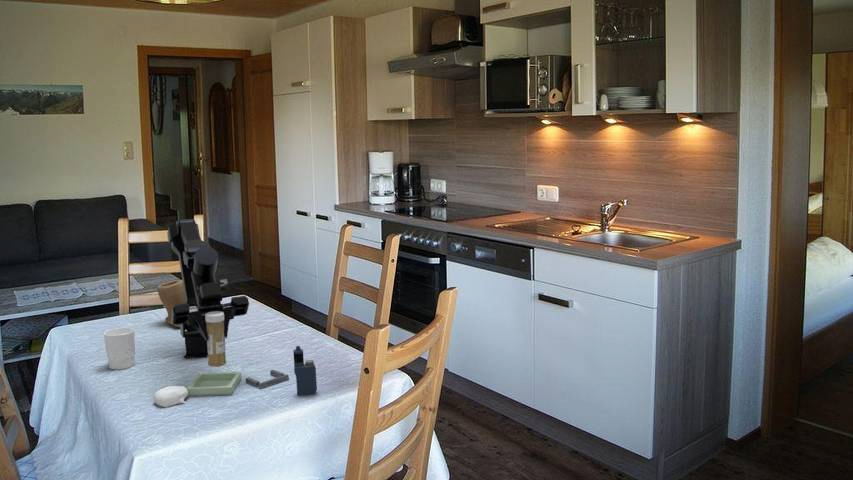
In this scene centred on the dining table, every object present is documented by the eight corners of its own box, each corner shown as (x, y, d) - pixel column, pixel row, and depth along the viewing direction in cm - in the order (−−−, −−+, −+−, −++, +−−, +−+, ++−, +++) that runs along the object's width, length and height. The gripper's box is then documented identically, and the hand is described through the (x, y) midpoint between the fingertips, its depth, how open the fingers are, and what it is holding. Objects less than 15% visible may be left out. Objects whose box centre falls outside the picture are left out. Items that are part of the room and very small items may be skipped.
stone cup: (156, 323, 250) (152, 279, 248) (191, 316, 257) (188, 274, 254) (169, 333, 238) (165, 287, 235) (206, 326, 245) (202, 282, 242)
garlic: (182, 394, 185) (181, 379, 184) (193, 401, 179) (192, 387, 179) (150, 403, 179) (149, 388, 179) (161, 411, 174) (159, 395, 174)
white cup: (143, 362, 209) (140, 328, 208) (123, 371, 202) (120, 336, 200) (120, 360, 212) (117, 326, 210) (100, 369, 205) (97, 334, 203)
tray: (186, 396, 182) (186, 388, 182) (199, 380, 193) (198, 373, 193) (231, 394, 183) (231, 387, 182) (241, 379, 193) (241, 372, 193)
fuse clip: (245, 382, 191) (245, 378, 190) (273, 373, 197) (273, 369, 197) (260, 389, 186) (260, 384, 186) (288, 379, 192) (288, 375, 192)
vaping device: (296, 391, 183) (293, 345, 181) (317, 390, 184) (314, 344, 182) (295, 395, 181) (292, 348, 179) (316, 394, 181) (314, 347, 179)
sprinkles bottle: (226, 366, 186) (223, 314, 183) (207, 368, 184) (204, 316, 182) (226, 360, 190) (224, 310, 188) (208, 362, 189) (205, 311, 187)
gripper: (169, 273, 182) (179, 328, 175) (245, 265, 191) (258, 317, 183) (167, 297, 191) (177, 350, 183) (240, 288, 199) (252, 338, 191)
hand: (216, 338), depth 185 cm, fingers closed on sprinkles bottle, 4 cm apart
